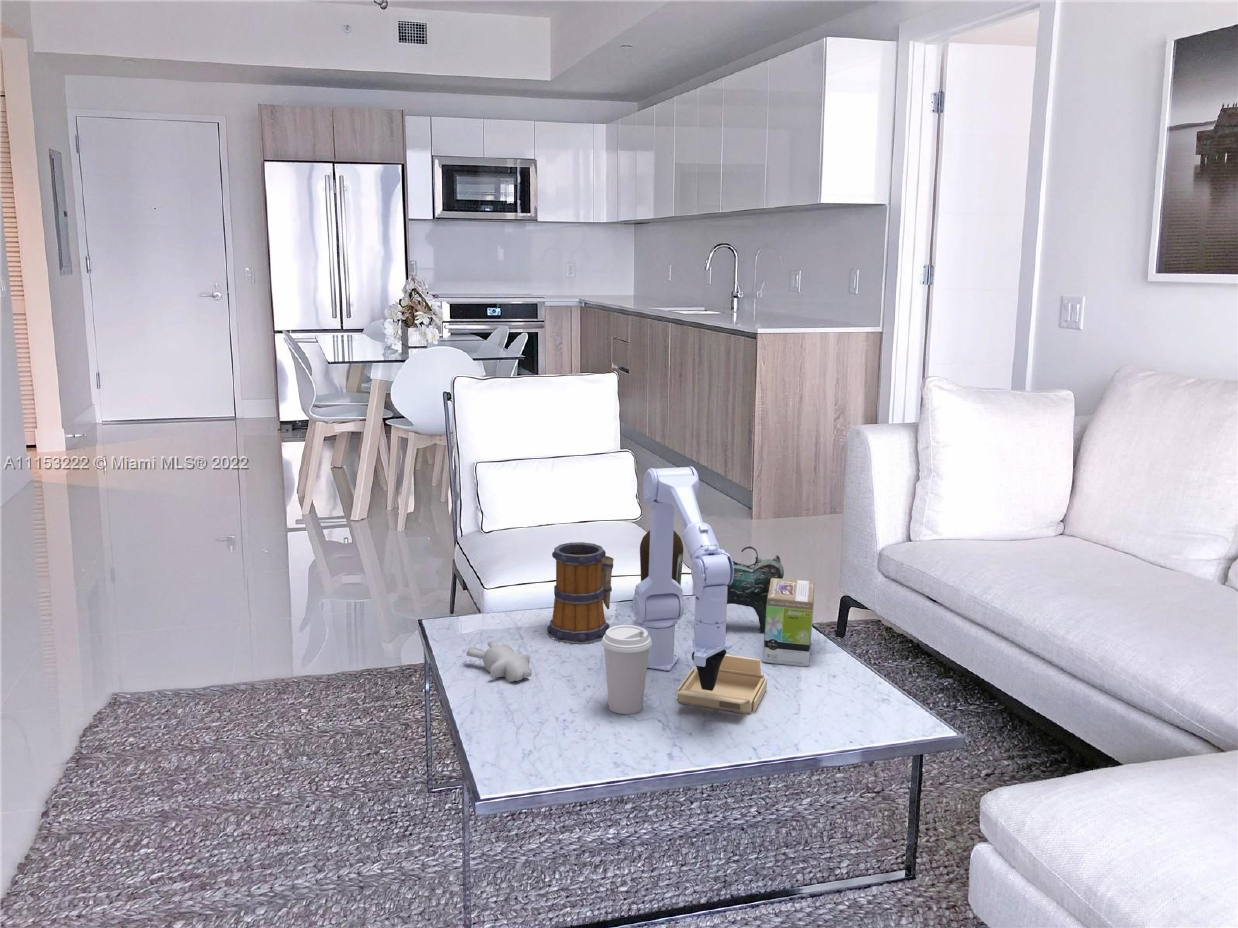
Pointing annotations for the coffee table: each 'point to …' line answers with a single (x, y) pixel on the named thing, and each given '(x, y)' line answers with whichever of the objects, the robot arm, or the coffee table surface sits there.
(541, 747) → the coffee table surface
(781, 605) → the tea box
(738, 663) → the flap far
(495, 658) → the bunny figurine
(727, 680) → the carton
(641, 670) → the coffee cup
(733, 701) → the flap near
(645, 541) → the olive oil
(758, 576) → the green animal figurine
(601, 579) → the mug
